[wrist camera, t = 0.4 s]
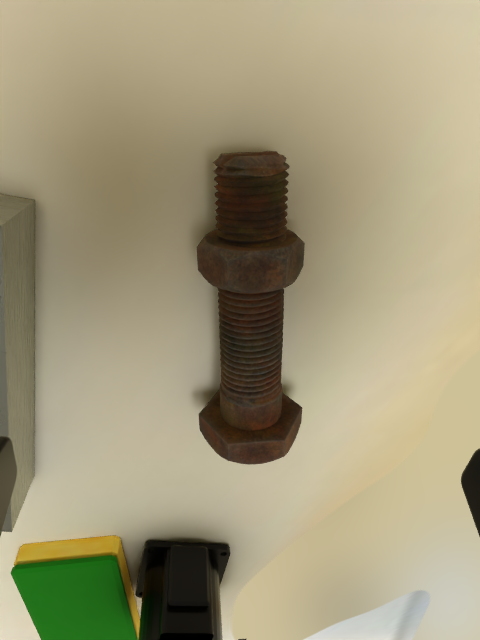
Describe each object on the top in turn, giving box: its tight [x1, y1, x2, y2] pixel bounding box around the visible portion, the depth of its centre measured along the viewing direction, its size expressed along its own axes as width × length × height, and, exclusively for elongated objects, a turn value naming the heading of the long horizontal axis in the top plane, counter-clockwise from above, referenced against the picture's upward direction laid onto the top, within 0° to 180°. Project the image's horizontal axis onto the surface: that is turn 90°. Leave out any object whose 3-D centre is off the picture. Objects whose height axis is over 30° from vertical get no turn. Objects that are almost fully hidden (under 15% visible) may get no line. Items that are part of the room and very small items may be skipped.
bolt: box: [197, 151, 305, 464], centre depth 22 cm, size 6×5×15 cm
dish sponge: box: [11, 535, 140, 640], centre depth 34 cm, size 7×14×2 cm, turn 1°
